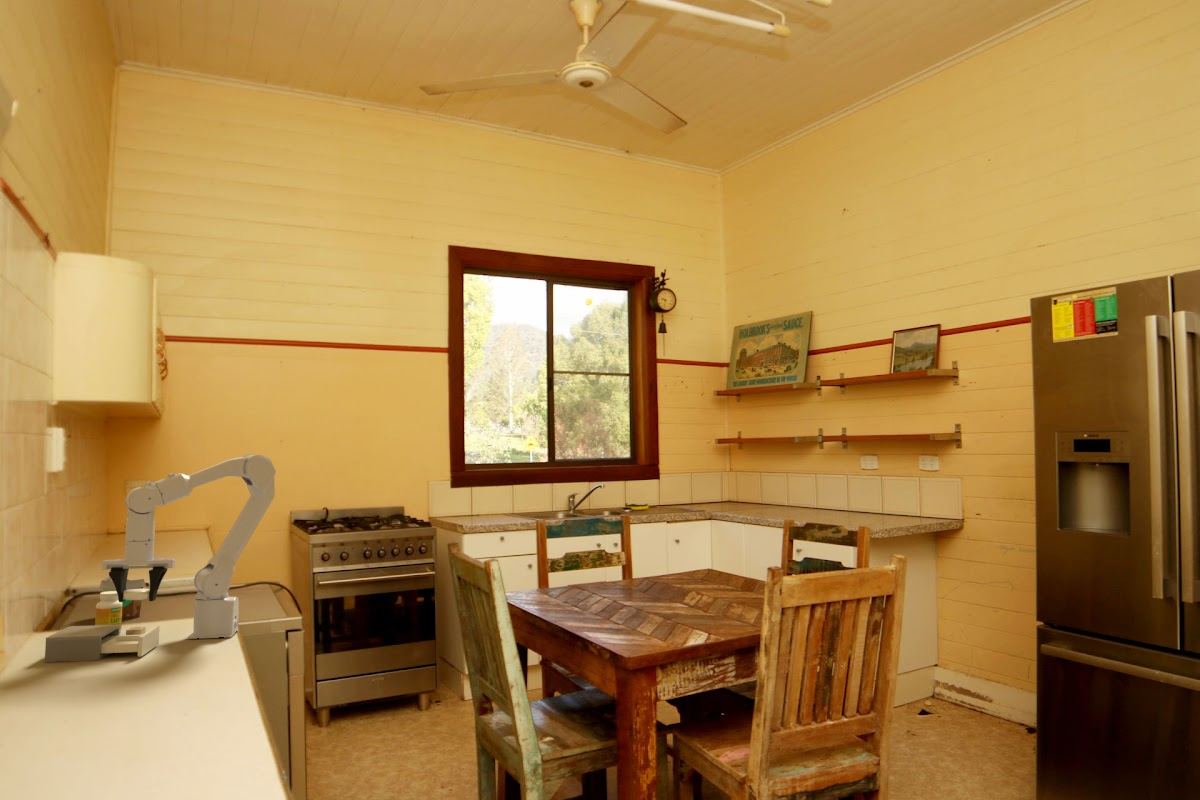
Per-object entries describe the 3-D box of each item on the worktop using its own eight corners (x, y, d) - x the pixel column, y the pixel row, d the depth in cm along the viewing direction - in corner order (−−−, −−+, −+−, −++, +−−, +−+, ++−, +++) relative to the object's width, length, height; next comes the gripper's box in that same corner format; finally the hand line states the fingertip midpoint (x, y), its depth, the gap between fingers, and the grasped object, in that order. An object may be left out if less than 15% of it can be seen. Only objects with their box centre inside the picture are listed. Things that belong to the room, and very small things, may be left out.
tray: (158, 644, 177) (159, 626, 177) (141, 656, 167) (142, 637, 167) (109, 646, 175) (110, 627, 175) (88, 658, 164) (89, 639, 165)
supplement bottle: (111, 636, 186) (113, 594, 186) (89, 636, 186) (91, 594, 186) (126, 631, 191) (127, 590, 192) (104, 631, 191) (106, 590, 192)
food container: (86, 618, 205) (88, 579, 205) (107, 614, 211) (109, 576, 211) (123, 622, 201) (125, 582, 202) (143, 617, 207) (145, 578, 208)
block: (144, 642, 180) (145, 626, 180) (140, 645, 177) (140, 629, 177) (130, 643, 180) (131, 627, 180) (125, 646, 177) (126, 630, 177)
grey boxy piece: (118, 647, 175) (119, 624, 176) (98, 660, 165) (99, 635, 165) (68, 649, 173) (69, 626, 174) (44, 662, 163) (45, 637, 163)
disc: (155, 595, 182) (155, 588, 182) (146, 600, 177) (147, 592, 177) (128, 595, 181) (128, 588, 181) (119, 600, 176) (119, 592, 176)
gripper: (180, 537, 185) (177, 596, 184) (111, 538, 182) (108, 598, 181) (170, 541, 178) (168, 602, 178) (99, 542, 175) (96, 604, 175)
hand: (137, 600), depth 179 cm, fingers closed on disc, 6 cm apart
